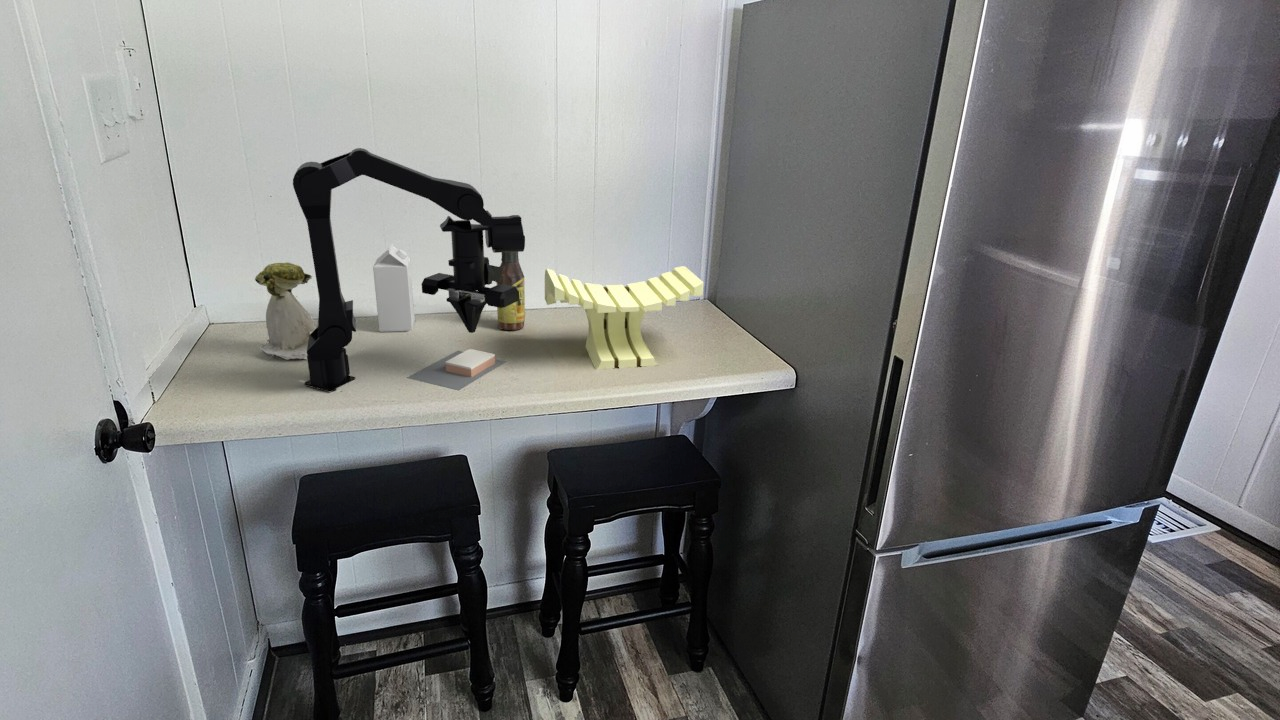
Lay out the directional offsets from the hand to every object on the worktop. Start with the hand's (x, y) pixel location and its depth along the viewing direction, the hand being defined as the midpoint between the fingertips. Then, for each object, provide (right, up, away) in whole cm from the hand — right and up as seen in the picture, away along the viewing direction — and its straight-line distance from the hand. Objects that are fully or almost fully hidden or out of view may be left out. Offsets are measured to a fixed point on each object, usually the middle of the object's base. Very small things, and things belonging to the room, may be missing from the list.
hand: (472, 332), depth 139 cm
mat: (-3, -8, +2) cm, 8 cm away
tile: (-4, -5, +4) cm, 7 cm away
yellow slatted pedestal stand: (+28, -4, +15) cm, 32 cm away
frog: (-38, -4, +8) cm, 39 cm away
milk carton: (-22, +2, +23) cm, 32 cm away
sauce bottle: (+3, +2, +27) cm, 27 cm away
